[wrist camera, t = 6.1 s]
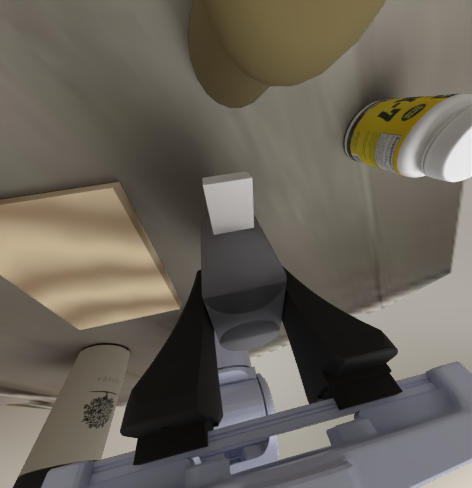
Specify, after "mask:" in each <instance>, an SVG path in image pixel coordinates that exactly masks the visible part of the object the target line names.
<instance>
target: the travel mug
mask: <svg viewBox="0 0 472 488" xmlns="http://www.w3.org/2000/svg"><path fill="white" fill-rule="evenodd" d="M129 358H130V352H129V351H128V350H127V349H125V348H123V347H121V346H117V345H104V344H103V345H96V346H92V347H89V348H86V349H84V350H82V351H81V352H80V353H79V355H78V357H77V359H76V361H75V363H74V365H73V367H72V369H71V371H70V373H69V375H68V377H67V379H66V381H65V383H64V385H63V387H62V389H61V391H60V393H59V395H58V397H57V399H56V402H55V404H54V406H53V408H52V410H51V412H50V414H49V416H48V418H47V420H46V422H45V424H44V426H43V428H42V430H41V432H40V434H39V436H38V438H37V440H36V442H35V444H34V446H33V448H32V450H31V452H30V454H29V456H28V458H27V460H26V462H25V464H24V466H23V468H22V470H21V472H20V474H19V476H18V479H17V480H16V482H15V484H14V487H13V488H41V487H42V484H43V482H44V480H45V477H46V475H47V473H48V472H49V471H50V470H51V469H54V468H58V467H61V466H65V465H69V464H73V463H77V462H81V461H94V462H95V461H99V460H101V458H102V454H103V450H104V447H105V443H106V440H107V436H108V433H109V429H110V426H111V422H112V418H113V415H114V411H115V408H116V404H117V401H118V397H119V394H120V390H121V386H122V383H123V379H124V376H125V372H126V369H127V365H128V362H129Z"/></svg>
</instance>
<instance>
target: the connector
mask: <svg viewBox="0 0 472 488" xmlns="http://www.w3.org/2000/svg"><path fill="white" fill-rule="evenodd" d="M202 179H203V188H204V193H205V198H206V202H207V207H208V211H209V214H208V215H207V216H206V217H205V219H204V221H203V223H202V226H201V275H202V298H203V301H204V303H205V306H206V309H207V311H208V314H209V317H210V319H211V322H212V325H213V327H214V330H215V333H216V335H217V338H218V341H219V343H220V345H221V347H223V348H224V349H227V350H231V351H245V350H251V349H255V348H258V347H261V346H263V345H265V344H267V343H269V342H271V341H272V340H273V339H275V338H276V337H277V335H278V334H279V332H280V326H281V318H282V311H283V304H284V297H285V289H286V282H287V277H286V273H285V271H284V269H283V267H282V265H281V263H280V261H279V260H278V258H277V256H276V254H275V252H274V250H273V249H272V247H271V245H270V243H269V241H268V239H267V238H266V236H265V234H264V232H263V230H262V228H261V227H260V225H259V223H258V221H257V219H256V217H255V216H254V210H253V183H252V177H251V176H250V174H249V173H248V172H247V171H244V172H238V173H231V174H225V175H218V176H212V177H205V178H202Z"/></svg>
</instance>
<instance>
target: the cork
mask: <svg viewBox="0 0 472 488" xmlns="http://www.w3.org/2000/svg"><path fill="white" fill-rule="evenodd" d="M385 1H386V0H194V1H193V5H192V9H191V13H190V20H189V31H188V43H189V51H190V59H191V62H192V65H193V68H194V71H195V74H196V77H197V79H198V81H199V82H200V84H201V85H202V87H203V88H204V90H205V91H206V93H207V94H208V95H209V96H210V97H211V98H213V99H214V100H215V101H216V102H217V103H219V104H222V105H224V106H227V107H229V108H240V107H244V106H246V105H249V104H251V103H253V102H254V101H255V100H256V99H257V98H258V97H259V96H260V95H262V94H263V93H264V92H265V91H266V90H267V89H268V88H269V87H270V86H293V85H297V84H300V83H302V82H304V81H306V80H309V79H311V78H313V77H315V76H318V75H320V74H322V73H323V72H324V71H325V70H327V69H328V68H329V67H330V66H331V65H332V64H333V63H334V62H335V61H337V60H338V59H339V58H340V57H341V56H342V55H343V54H344V53H345V52H347V51H348V50H349V49H350V48H351V47H352V46H353V45H354V44H355V43H356V42H358V40H359V39H360V37H361V36H362V35H363V33H364V32H365V30H366V29H367V28H368V26H369V25H370V23H371V22H372V21H373V19H374V18H375V16H376V15H377V14H378V12H379V11H380V9H381V8H382V7H383V5H384V3H385Z"/></svg>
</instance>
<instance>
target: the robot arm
mask: <svg viewBox="0 0 472 488" xmlns="http://www.w3.org/2000/svg"><path fill="white" fill-rule="evenodd" d="M282 267H283V266H282ZM283 269H284V271H285V273H286V277H287V282H286V289H285V297H284V304H283V311H282V318H281V319H282V322H283V324H284V327H285V330H286V333H287V336H288V339H289V342H290V345H291V347H292V351H293V354H294V357H295V360H296V363H297V366H298V369H299V373H300V376H301V379H302V383H303V386H304V389H305V393H306V396H307V399H308V402H309V405H305V406H301V407H297V408H294V409H290V410H286V411H283V412H279V413H275V410H274V405H273V400H272V396H271V393H270V390H269V387H268V384H267V382H266V380H265V379H264V378H263V377H262V376H261V375H260V374H256V372H255V368H254V367H251V363H250V358H249V353H248V350H245V351H231V350H227V349H224V348H223V347H221V345H220V343H219V341H218V338H217V335H216V333H215V330H214V327H213V325H212V322H211V319H210V317H209V314H208V311H207V309H206V306H205V303H204V301H203V298H202V275H201V270H199V271H198V272H197V275H196V278H195V282H194V285H193V288H192V291H191V293H190V296H189V298H188V301H187V303H186V305H185V308H184V310H183V312H182V314H181V316H180V318H179V320H178V322H177V324H176V326H175V328H174V329H173V331H172V333H171V335H170V336H169V338H168V340H167V341H166V343H165V344H164V346H163V348H162V349H161V351H160V352H159V354H158V355H157V356H156V358H155V359H154V361H153V362H152V364H151V365H150V367H149V368H148V369H147V371H146V372H145V373H144V375H143V376H142V377H141V379H140V380H139V381H138V383H137V384H136V385H135V387H134V388H133V389H132V391H131V394H130V397H129V400H128V403H127V406H126V409H125V413H124V418H123V422H122V426H121V429H120V433H121V434H122V435H123V436H127V437H133V438H138V441H137V446H136V451H132V452H129V453H125V454H121V455H118V456H114V457H110V458H106V459H102V460H99V461H95V462H94V461H81V462H77V463H73V464H69V465H65V466H61V467H58V468H54V469H51V470H50V471H49V472H48V473H47V475H46V477H45V480H44V482H43V484H42V487H41V488H418V487H420V486H422V485H424V484H426V483H428V482H431V481H433V480H435V479H437V478H439V477H441V476H443V475H445V474H447V473H449V472H452V471H454V470H456V469H458V468H460V467H462V466H464V465H466V464H468V463H470V462H472V373H471V372H469V371H468V370H467V369H466V368H465V367H464V366H463V365H462V364H461V363H460V362H454V363H450V364H447V365H442V366H439V367H436V368H433V369H431V370H429V371H427V372H426V373H425V374H421V375H417V376H414V377H410V378H406V379H402V380H399V381H395V380H394V379H393V377H392V376H391V375H390V372H391V369H390V368H389V366H388V365H387V364H386V363H387V362H388V361H389V360H390V359H392V358H393V357H394V356H395V355H397V353H398V350H397V348H396V347H395V346H394V345H393V343H392V342H391V341H390V340H389V339H388V337H387V336H386V335H385V334H384V333H383V332H382V331H381V330H379V329H377V328H375V327H373V326H371V325H369V324H366V323H364V322H362V321H360V320H358V319H356V318H354V317H353V316H351V315H349V314H347V313H345V312H343V311H342V310H340V309H338V308H337V307H335V306H333V305H332V304H330V303H328V302H327V301H325V300H324V299H322V298H321V297H319V296H318V295H317V294H315V293H314V292H312V291H311V290H310V289H308V288H307V287H306V286H305V285H303V284H302V283H301V282H300V281H298V280H297V279H296V278H295V277H294V276H293V275H292V274H291V273H289V272H288V271H287V270H286V269H285V268H284V267H283ZM354 413H355V415H354V420H353V421H350V422H347V423H343V424H340V425H337V426H336V427H334V428H331V429H328V430H327V435H328V438H329V440H330V443H331V446H328V447H324V448H321V449H317V450H313V451H310V452H306V453H303V454H299V455H296V456H292V457H288V458H285V459H281V460H279V455H278V454H279V447H278V440H277V435H278V434H282V433H285V432H289V431H293V430H296V429H300V428H303V427H307V426H311V425H314V424H318V423H322V422H325V421H328V420H332V419H336V418H339V417H343V416H347V415H350V414H354Z"/></svg>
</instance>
